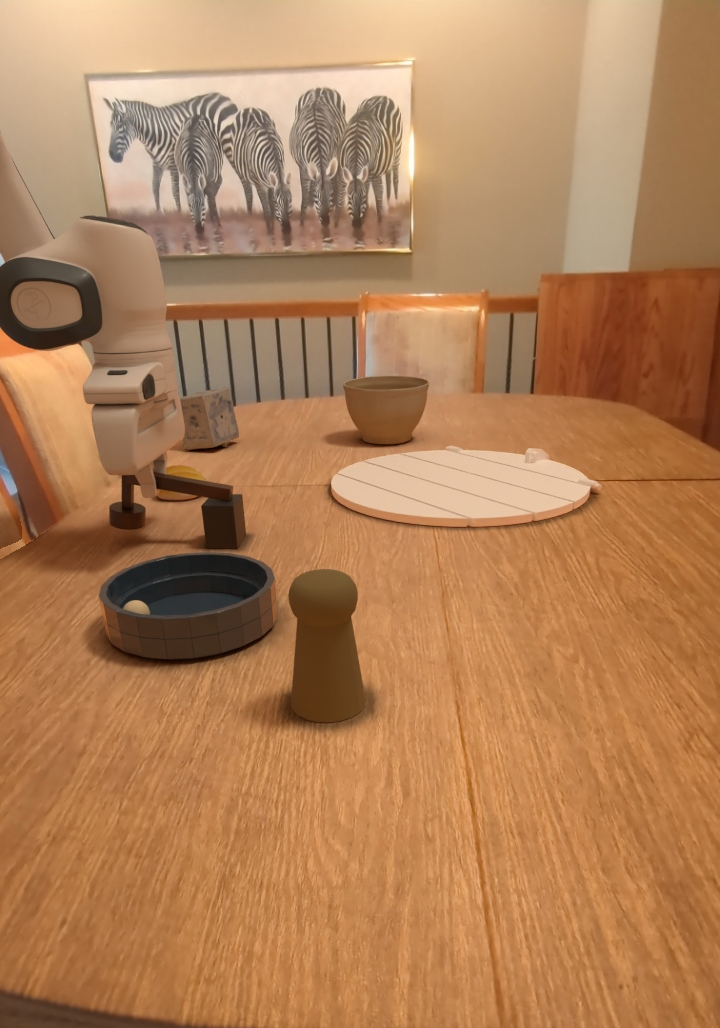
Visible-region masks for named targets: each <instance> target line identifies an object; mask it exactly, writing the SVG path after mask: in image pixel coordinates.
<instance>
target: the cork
mask: <svg viewBox="0 0 720 1028" xmlns="http://www.w3.org/2000/svg"><path fill="white" fill-rule="evenodd" d="M287 596H288V604H289V606H290V608H291V612H292V614H293V616H294V617H295V618H296V629H295V630H296V631H295V644H294V654H293V655H294V657H293V669H292V672H293V673H292V681H291V682H292V683H291V695H290V697H291V698H290V706H291V710H292V711H293V712H294V714H296V715H297V716H298V717H300V718H302V719H304V720H306V721H310V722H314V723H330V724H331V723H336V722H343V721H345V720H348V719H351V718H354V717H355V716H357V715H358V714H359V713H362V710H363V709H364V708H365V706H366V694H365V689H364V681H363V676H362V671H361V665H360V664H361V663H360V659H359V653H358V647H357V642H356V636H355V632H354V630H355V629H354V624H353V618H352V616H353V614H355V612H356V609H357V605H358V600H359V591H358V588H357V585H356V583H355V581H354V580H353V578H352V577H351V576H350V575H349V574H347V573H345V572H343V571H340V570H337V569H330V568H320V569H319V568H318V569H311V570H308V571H305V572H303V573H300V574H299V575H298V576H296V577H295V578H294V579H293V580H292V583H291V584H290V586H289V590H288V595H287Z"/></svg>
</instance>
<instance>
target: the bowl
mask: <svg viewBox="0 0 720 1028" xmlns="http://www.w3.org/2000/svg"><path fill="white" fill-rule="evenodd" d="M98 599H99V604H100V605H99V606H100V610H101V615H102V620H103V625H104V630H105V634H106V636H107V638H108V640H109V642H110V644H112V645H113V646H114V647H116V648H117V649H119V650H121V651H123V652H125V653H127V654H131V655H136V656H139V657H142V658H149V659H155V660H169V661H178V660H179V661H183V660H194V659H203V658H207V657H212V656H213V657H214V656H218V655H221V654H226V653H228V652H231V651H234V650H236V649H239V648H241V647H244V646H246V645H248V644H250V643H252V642H253V641H255V640H258V639H259V638H261V637H263V636H264V635H265V634H266V633H267V632H269V631H270V629H271V628H273V627H274V625H275V623H276V621H277V618H278V616H279V614H278V601H277V589H276V578H275V574H274V571H273V569H272V568H271V567H270V566H268V564H266V563H265V562H264V561H261V560H259V559H257V558H254V557H252V556H248V555H244V554H243V555H242V554H236V553H231V552H218V551H203V552H185V553H177V554H170V555H164V556H160V557H156V558H152V559H148V560H144V561H141V562H138V563H135V564H133V565H130V566H128V567H125V568H123V569H122V570H120V571H118V572H115V573H114V574H112V575H111V576H109V577H108V578H107V579H106V580H105V581H104V583H102V584H101V586H100V589H99V593H98ZM133 600H138V601H142V602H144V603H145V604H146V605H147V606H148V608H149V611H150V615H148V614H139V613H135V612H131V611H127V610H124V609H123V607H124V606H125V605H126V604H127V603H128V602H130V601H133Z"/></svg>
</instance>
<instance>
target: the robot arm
mask: <svg viewBox="0 0 720 1028" xmlns="http://www.w3.org/2000/svg"><path fill="white" fill-rule="evenodd" d="M25 182H26V181H24V179H23V176H22V175H21V173H20V171H19V169H18V167H17V166H16V163H15V161H14V160H13V158H12V156H11V154H10V152H9V149H8V147H7V145H6V142H5V140H4V137H3V134H2V132H1V131H0V256H1V257H2V260H3V261H4V263H3V264H1V265H0V330H1V331H2V332H3V333H4V334H5V335H6V336H7V337H8V338H9V339H11V340H12V341H14V342H15V343H17V344H18V345H20V346H23V347H25V348H28V349H32V350H35V351H41V352H53V351H57V350H61V349H63V348H67V347H70V346H75V345H77V344H80V343H82V342H88V343H89V344H90V345H91V349H92V355H93V361H94V363H93V364H92V369H91V371H90V373H89V375H88V377H87V378H86V379H85V381H84V383H83V384H82V393H83V398H84V403H86V404H87V405H92V408H91V413H90V414H91V415H90V416H91V425H92V430H93V434H94V440H95V445H96V449H97V452H98V457H99V460H100V461H99V462H100V464H101V466H102V468H103V469H104V471H105V472H106V474H107V475H109V476H122V475H135V476H136V478H137V480H138V482H139V484H140V486H139V487H140V492H141V496H142V498H145V499H155V498H156V497H158V496H157V495H158V494H159V492H160V491H162V490H160V489H159V485H158V481H156V480H155V477H154V474H153V472H157V473H163V474H166V468H167V467H168V451H170V449H171V448H173V447H174V446H175V445H177V444H178V443H180V442H181V441H183V438H184V434H185V425H184V418H183V412H182V407H181V402H180V397H181V396H180V394H179V389H178V387H179V386H178V380H177V373H176V364H175V357H174V350H173V343H172V340H171V337H170V336H169V332H168V328H167V320H166V319H167V310H168V303H167V295H166V289H165V282H164V276H163V271H162V267H161V266H162V265H161V261H160V258H159V254H158V250H157V247H156V245H155V242H154V240H153V238H152V236H151V235H150V234H149V233H148V232H147V231H146V230H145V229H144V228H142V226H140V225H138V224H136V223H134V222H131V221H130V222H129V221H126V220H123V219H118V218H113V217H107V216H97V215H84V216H79V217H78V218H77V220H76V221H75V222H74V223H73V225H71V226H70V227H69V228H68V229H67V230H66V231H64V232H63V233H62V234H60V235H58V236H56V237H55V236H54V234H53V232H52V231H51V229H50V228H49V226H48V224H47V222H46V220H45V218H44V217H43V215H42V212H41V211H40V209H39V207H38V205H37V203H36V201H35V199H34V197H33V195H32V194H31V192H30V190H29V188H28V186H27V185H26V183H25Z"/></svg>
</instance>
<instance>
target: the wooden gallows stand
mask: <svg viewBox="0 0 720 1028" xmlns="http://www.w3.org/2000/svg"><path fill="white" fill-rule="evenodd" d="M153 474H154V477H155V480H156V481H158V485H159V489H160V490H166V491H172V492H178V493H183V494H189V495H195V496H198V497H202V498H207V499H208V498H212V499H218V500H223V501H230V500H231V499H232V496H233V494H234V485H232V484H226V483H220V482H215V481H214V482H213V481H208V480H207V481H203V480H197V479H191V478H186V477H180V476H174V475H168V474H163V473H157V472H153ZM135 486H139V487H140V484H139V482H138V480H137V478H136V476H135V475H121V501H116V502H113V503H111V504H109V506H108V512H109V513H108V517H109V518H108V519H109V520H108V522H109V525H110V526H111V527H113V528H116V529H119V530H124V531H125V530H126V531H135V530H140V529H143V528H145V526H146V521H147V520H146V516H147V514H146V513H147V509H146V506H145V505H143V504H141V503H138V502H135Z"/></svg>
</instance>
